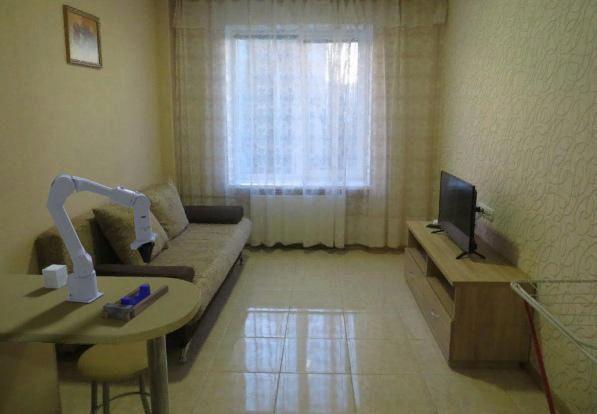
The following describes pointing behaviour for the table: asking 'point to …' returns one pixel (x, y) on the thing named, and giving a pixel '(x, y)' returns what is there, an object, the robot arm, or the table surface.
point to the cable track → (131, 311)
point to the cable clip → (137, 296)
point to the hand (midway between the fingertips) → (146, 262)
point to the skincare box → (55, 276)
